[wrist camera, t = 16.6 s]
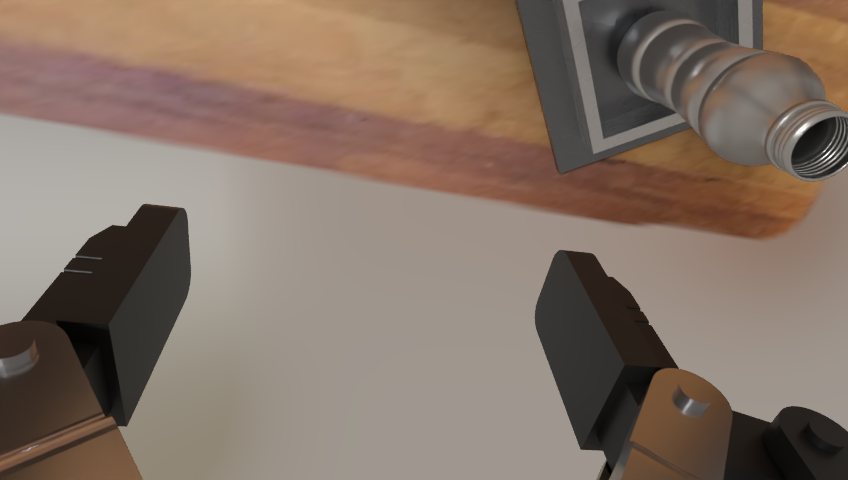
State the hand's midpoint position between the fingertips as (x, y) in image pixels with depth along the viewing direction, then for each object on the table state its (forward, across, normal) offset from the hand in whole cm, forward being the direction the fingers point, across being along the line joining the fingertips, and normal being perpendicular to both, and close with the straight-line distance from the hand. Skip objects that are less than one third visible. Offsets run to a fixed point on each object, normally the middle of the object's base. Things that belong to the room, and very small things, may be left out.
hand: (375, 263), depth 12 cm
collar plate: (+34, -22, -1) cm, 40 cm away
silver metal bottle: (+33, -22, 0) cm, 40 cm away
